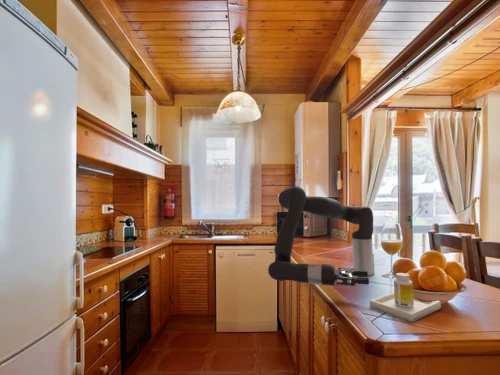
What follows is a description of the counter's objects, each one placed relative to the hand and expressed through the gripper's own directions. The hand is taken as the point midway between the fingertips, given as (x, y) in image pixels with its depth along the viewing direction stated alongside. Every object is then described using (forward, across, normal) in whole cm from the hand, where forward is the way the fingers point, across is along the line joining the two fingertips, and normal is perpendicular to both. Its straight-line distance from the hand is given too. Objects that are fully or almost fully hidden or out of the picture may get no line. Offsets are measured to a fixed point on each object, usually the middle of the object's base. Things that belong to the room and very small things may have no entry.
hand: (368, 277), depth 95 cm
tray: (+11, 0, +9) cm, 14 cm away
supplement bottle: (+11, 0, +8) cm, 14 cm away
